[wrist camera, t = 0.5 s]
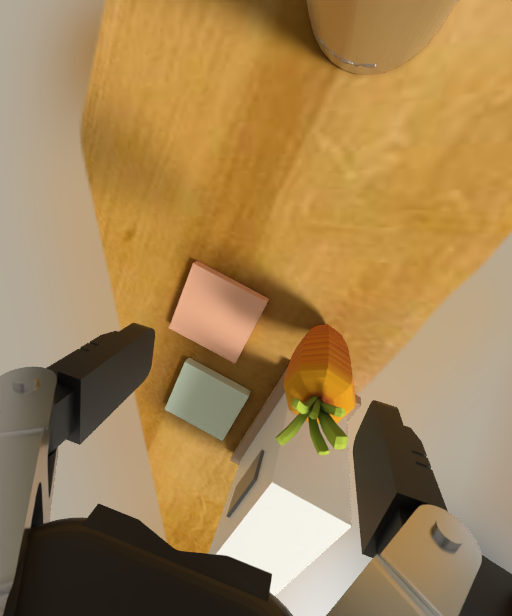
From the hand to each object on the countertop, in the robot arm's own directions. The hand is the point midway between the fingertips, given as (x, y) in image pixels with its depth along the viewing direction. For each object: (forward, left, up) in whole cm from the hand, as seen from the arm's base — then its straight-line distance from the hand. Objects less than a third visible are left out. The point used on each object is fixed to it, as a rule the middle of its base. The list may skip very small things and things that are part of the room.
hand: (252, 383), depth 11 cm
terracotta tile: (+9, -5, -19) cm, 22 cm away
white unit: (+18, +8, -19) cm, 27 cm away
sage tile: (+20, -2, -19) cm, 28 cm away
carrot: (+5, +5, -19) cm, 20 cm away
